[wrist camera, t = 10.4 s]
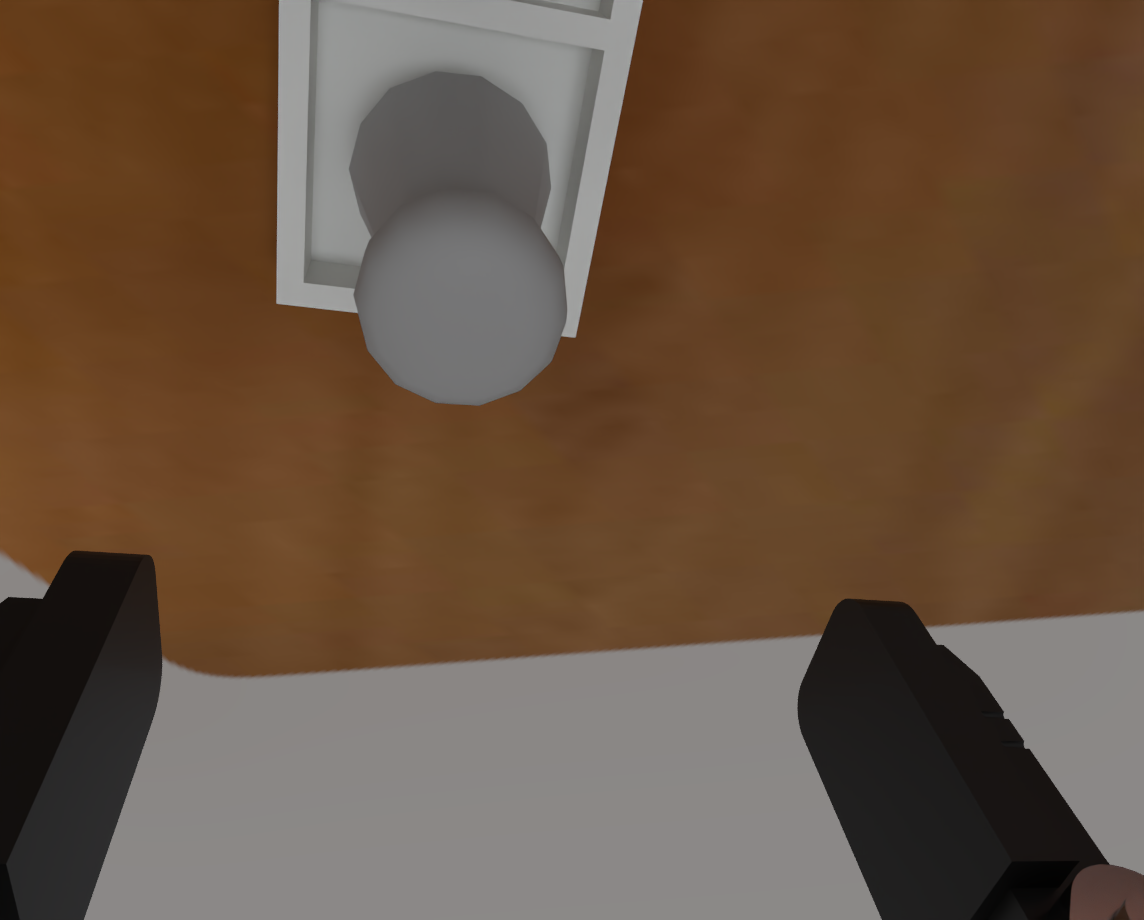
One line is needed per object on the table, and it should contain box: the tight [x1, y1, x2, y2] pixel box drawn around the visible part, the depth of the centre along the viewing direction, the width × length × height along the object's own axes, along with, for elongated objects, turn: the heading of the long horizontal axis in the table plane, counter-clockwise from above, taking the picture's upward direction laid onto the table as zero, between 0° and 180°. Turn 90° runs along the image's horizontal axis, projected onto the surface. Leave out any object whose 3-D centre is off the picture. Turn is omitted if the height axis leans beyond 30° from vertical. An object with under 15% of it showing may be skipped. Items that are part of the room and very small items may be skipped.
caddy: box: [276, 0, 643, 338], centre depth 25 cm, size 10×18×3 cm, turn 170°
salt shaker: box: [349, 71, 567, 406], centre depth 22 cm, size 6×6×13 cm
